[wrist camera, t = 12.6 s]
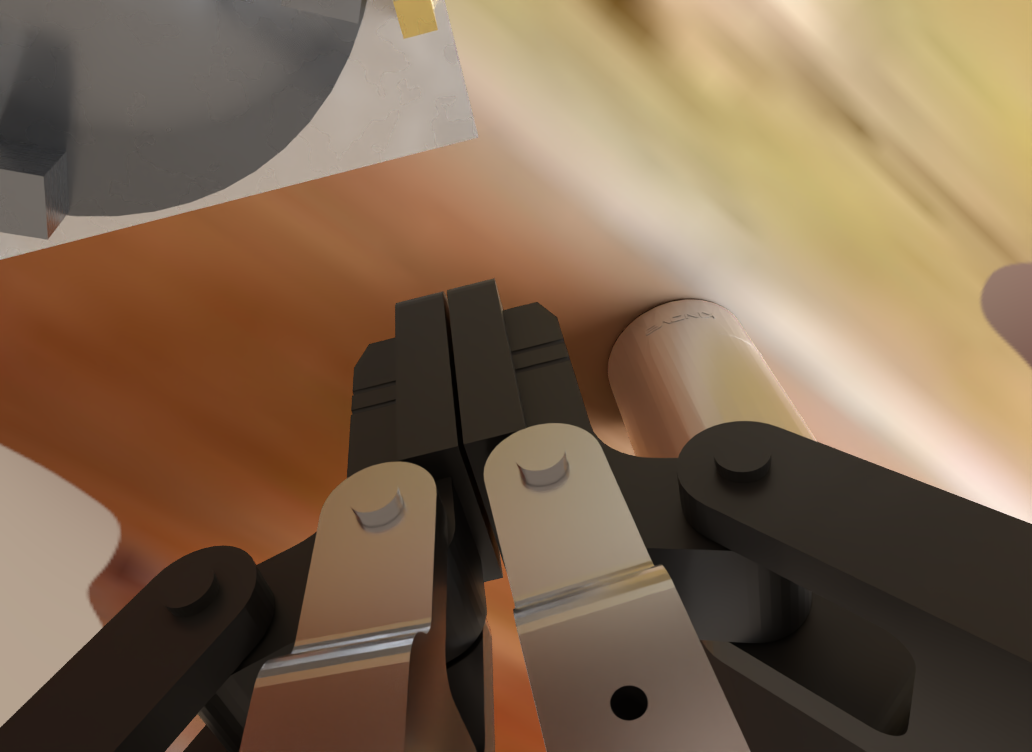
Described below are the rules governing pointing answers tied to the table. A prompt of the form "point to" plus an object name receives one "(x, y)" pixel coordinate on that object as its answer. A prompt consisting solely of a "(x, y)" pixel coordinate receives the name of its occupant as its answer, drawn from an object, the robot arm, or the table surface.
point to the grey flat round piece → (154, 98)
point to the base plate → (344, 116)
